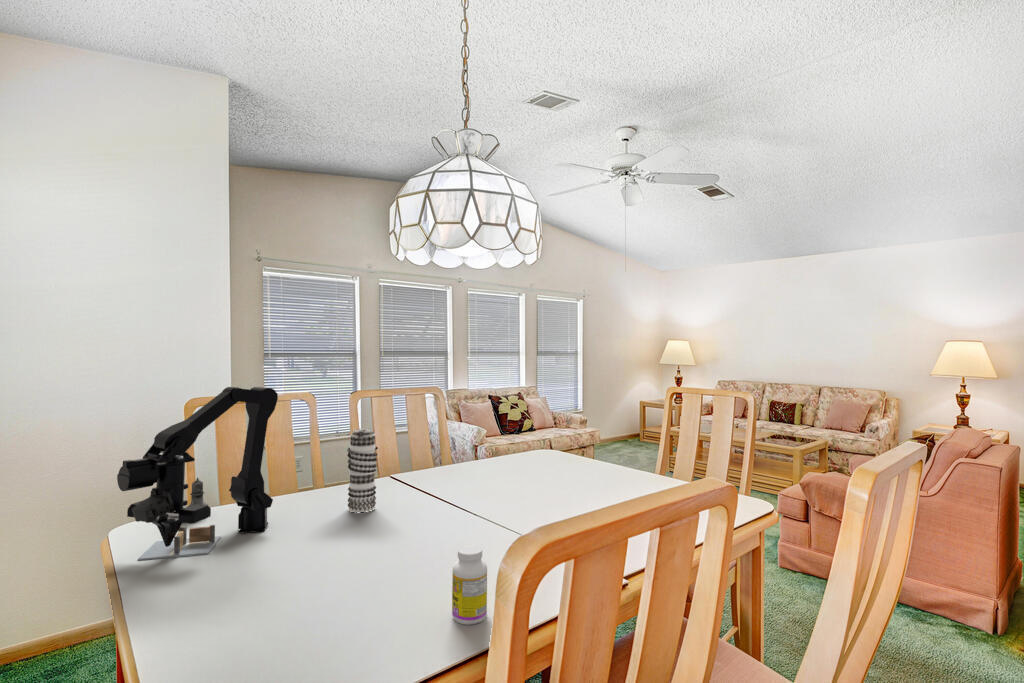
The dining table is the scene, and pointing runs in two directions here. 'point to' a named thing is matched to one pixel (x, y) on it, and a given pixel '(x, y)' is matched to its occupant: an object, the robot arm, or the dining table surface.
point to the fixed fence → (199, 534)
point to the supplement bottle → (469, 586)
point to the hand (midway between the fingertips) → (167, 546)
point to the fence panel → (178, 542)
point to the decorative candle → (362, 471)
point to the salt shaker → (197, 493)
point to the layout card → (188, 549)
